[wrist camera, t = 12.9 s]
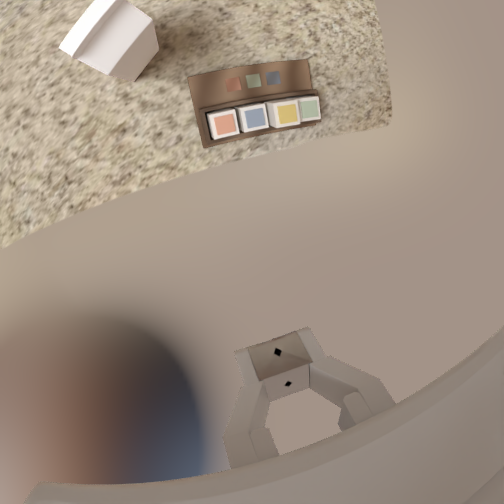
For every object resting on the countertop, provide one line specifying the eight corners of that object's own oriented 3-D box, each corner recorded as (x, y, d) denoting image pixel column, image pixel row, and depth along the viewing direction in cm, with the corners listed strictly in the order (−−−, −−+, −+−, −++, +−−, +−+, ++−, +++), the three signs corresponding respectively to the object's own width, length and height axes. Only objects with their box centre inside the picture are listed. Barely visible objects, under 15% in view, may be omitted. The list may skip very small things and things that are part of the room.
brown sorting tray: (303, 59, 38) (315, 58, 34) (311, 123, 44) (324, 127, 41) (187, 77, 35) (189, 76, 32) (202, 146, 42) (206, 152, 38)
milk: (159, 49, 32) (154, 9, 14) (133, 82, 34) (101, 74, 16) (127, 30, 29) (94, -21, 11) (101, 63, 30) (43, 43, 13)
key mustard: (286, 98, 37) (298, 100, 34) (289, 120, 39) (301, 124, 36) (263, 102, 37) (273, 103, 33) (267, 124, 39) (277, 128, 35)
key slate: (256, 102, 38) (265, 103, 35) (260, 124, 40) (269, 127, 37) (233, 106, 38) (240, 108, 34) (238, 128, 40) (245, 132, 36)
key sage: (306, 95, 39) (319, 96, 36) (309, 115, 41) (322, 119, 38) (286, 97, 39) (297, 99, 35) (289, 119, 41) (300, 122, 37)
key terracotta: (229, 107, 38) (235, 109, 34) (233, 129, 39) (240, 134, 36) (205, 113, 37) (209, 115, 34) (210, 135, 39) (214, 139, 36)
